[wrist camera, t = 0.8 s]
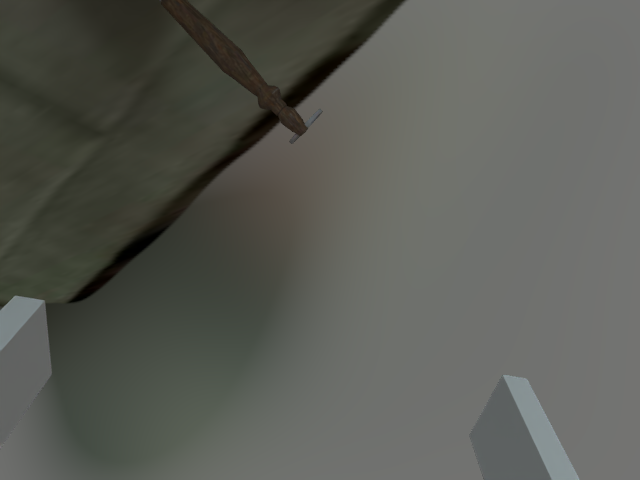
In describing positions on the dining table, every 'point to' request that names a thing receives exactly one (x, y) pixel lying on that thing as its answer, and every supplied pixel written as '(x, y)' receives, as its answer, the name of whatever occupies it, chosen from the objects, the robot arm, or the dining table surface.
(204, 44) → the coffee pot
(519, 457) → the robot arm
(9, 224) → the dining table surface
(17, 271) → the dining table surface
